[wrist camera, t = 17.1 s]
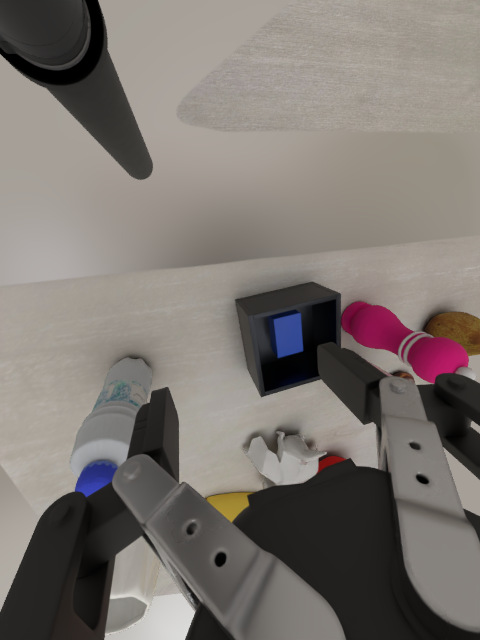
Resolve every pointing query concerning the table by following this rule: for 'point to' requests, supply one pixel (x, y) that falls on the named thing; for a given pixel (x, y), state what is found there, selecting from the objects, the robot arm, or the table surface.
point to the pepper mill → (405, 342)
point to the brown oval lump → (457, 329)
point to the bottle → (110, 425)
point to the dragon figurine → (284, 460)
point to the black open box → (317, 329)
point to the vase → (132, 586)
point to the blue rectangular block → (286, 333)
